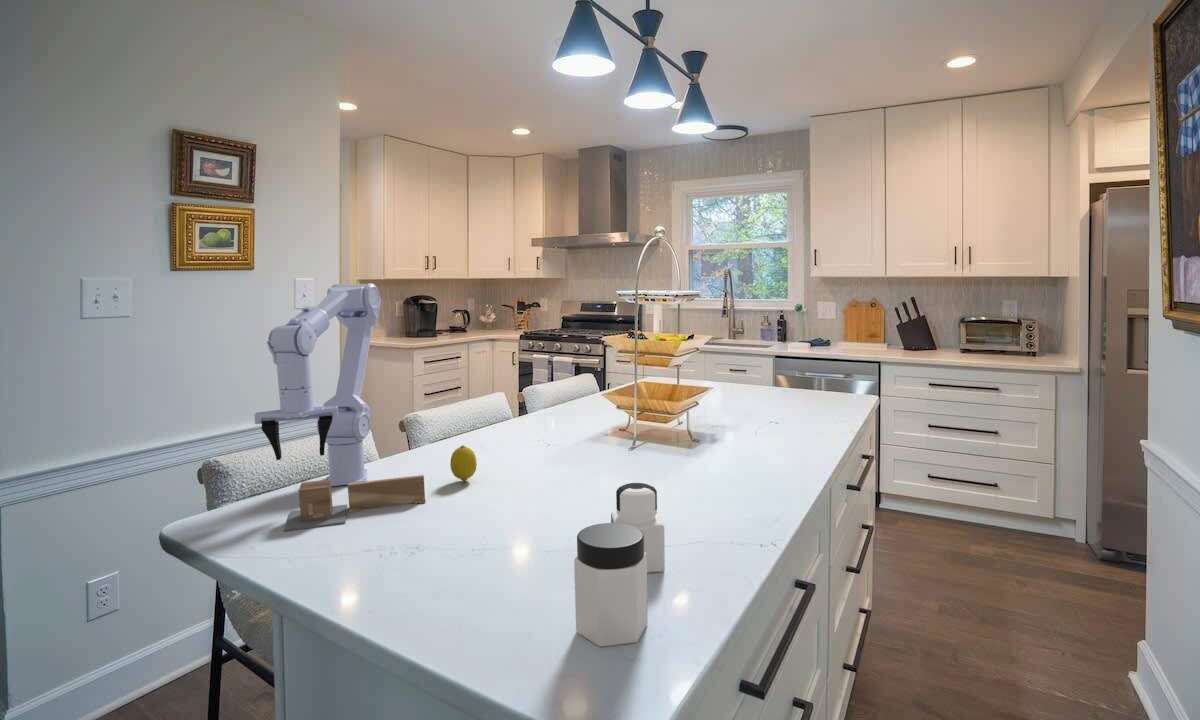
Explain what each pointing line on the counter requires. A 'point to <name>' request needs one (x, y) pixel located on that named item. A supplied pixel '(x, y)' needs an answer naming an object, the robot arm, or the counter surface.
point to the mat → (336, 518)
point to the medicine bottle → (642, 520)
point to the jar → (611, 584)
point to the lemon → (463, 463)
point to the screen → (386, 492)
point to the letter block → (315, 500)
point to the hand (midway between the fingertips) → (300, 456)
